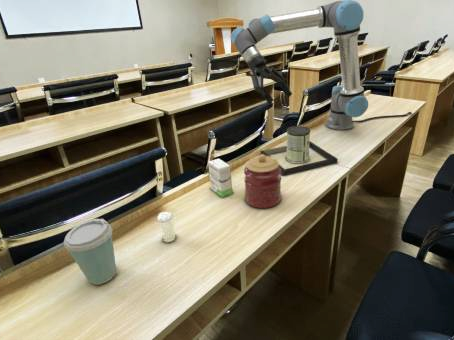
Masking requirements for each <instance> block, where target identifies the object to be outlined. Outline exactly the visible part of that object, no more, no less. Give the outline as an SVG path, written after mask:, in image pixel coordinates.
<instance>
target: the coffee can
mask: <svg viewBox="0 0 454 340" xmlns="http://www.w3.org/2000/svg"><path fill="white" fill-rule="evenodd" d="M310 135H311V128H310V127H307V126H304V125H293V126H292V125H291V126H289V127H287V129H286V146H287V151H286V160H287V161H288V162H289V163H292V164H306V163H307V162H308V161H309V160H310V147H309V142H311V136H310Z"/></svg>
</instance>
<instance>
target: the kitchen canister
mask: <svg viewBox="0 0 454 340" xmlns="http://www.w3.org/2000/svg"><path fill="white" fill-rule="evenodd" d="M269 156H270V155H269ZM269 156H265V155H263V154H261V155H260V154H259V155H258V156H254V157H252V158H250V159H248V160H247V161H246V163H245V167H244V168H243V174H244V175H245V176H244V179H243V181H244V188H245V189H244V191H245V192H244V198H245V201H246V203H247V204H248V205H250V206H251V207H253V208H258V209H268V208H273V207H274V206H276V205H278V203H280V201H281V198H282V191H281V189H282V187H281V184H282V183H281V182H282V175H281V174H280V173H281V168H280V167H279V165H280V163H279V161H278V160H277V159H276V158H273V157H272V156H270V157H269Z"/></svg>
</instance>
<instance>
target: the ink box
mask: <svg viewBox="0 0 454 340" xmlns="http://www.w3.org/2000/svg"><path fill="white" fill-rule="evenodd" d="M207 163H208V172H209V181H210V189H211V190H212V191H213V192H215V194H218V195H219V196H220V197H221V198H224V197H226V196H229V195H231V194H233V193H234V192H233V182H232V172H231V171H232V170H231V165H229V164H228V163H227V162H226V161H224V160H222V159H221V158H215V159H211V160H209V161H207Z"/></svg>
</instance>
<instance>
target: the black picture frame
mask: <svg viewBox="0 0 454 340" xmlns="http://www.w3.org/2000/svg"><path fill="white" fill-rule="evenodd" d="M309 149H312V150H314V151H315V152H316V153H318V154H320V155H321V156H322V157H324V158H325V159H324V160H319V161H314V162H310V163H304V164H302V165H297V166H293V167H289V168H284V167H282V165H280V164H279V167H280V168H281V173H280V176H288V175H291V174H297V173H301V172H305V171H309V170H313V169H318V168H322V167H326V166H330V165H334V164H338V161H339V159H338V158H337V157H335V156H334V155H332V154H331V153H329V152H328V151H326V150H325V149H323V148H321V147H320V146H318V145H317V144H316V143H314V142H312V141H310V142H309ZM259 152H260V154H259V155H261V154H263V155H265V156H269V157H271V155H274V154H278V153H283V152H287V145H283V146H278V147H273V148H269V149H268V148H267V149H264V150H260V151H259Z"/></svg>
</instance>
